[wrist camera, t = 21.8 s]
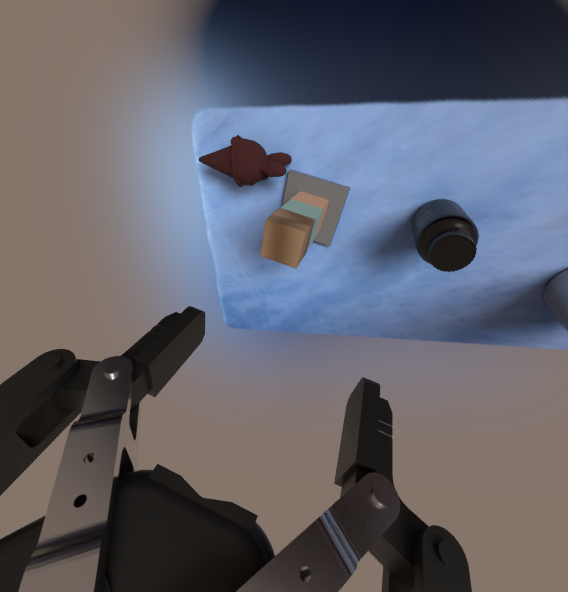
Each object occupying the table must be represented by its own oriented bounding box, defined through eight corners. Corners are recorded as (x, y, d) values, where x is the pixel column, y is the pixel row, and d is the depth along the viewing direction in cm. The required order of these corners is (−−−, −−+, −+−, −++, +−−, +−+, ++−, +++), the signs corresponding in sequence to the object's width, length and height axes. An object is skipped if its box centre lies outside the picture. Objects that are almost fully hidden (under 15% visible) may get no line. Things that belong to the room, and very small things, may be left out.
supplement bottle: (419, 248, 42) (427, 286, 33) (405, 210, 40) (409, 239, 31) (469, 232, 39) (493, 269, 29) (457, 189, 36) (480, 214, 27)
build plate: (350, 187, 41) (349, 188, 40) (330, 244, 47) (329, 246, 46) (290, 169, 42) (289, 170, 41) (279, 226, 48) (277, 228, 48)
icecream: (196, 191, 43) (284, 200, 40) (181, 142, 37) (282, 148, 35) (213, 173, 47) (294, 179, 44) (202, 126, 42) (293, 130, 39)
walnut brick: (315, 219, 34) (305, 232, 30) (306, 252, 37) (296, 268, 33) (280, 207, 35) (266, 219, 31) (274, 241, 38) (260, 255, 34)
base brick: (329, 200, 42) (322, 208, 38) (320, 228, 45) (313, 239, 41) (300, 191, 43) (290, 198, 39) (293, 219, 46) (284, 229, 42)
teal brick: (323, 209, 38) (315, 219, 34) (313, 239, 41) (305, 252, 37) (291, 198, 39) (280, 207, 35) (284, 229, 42) (273, 241, 38)
